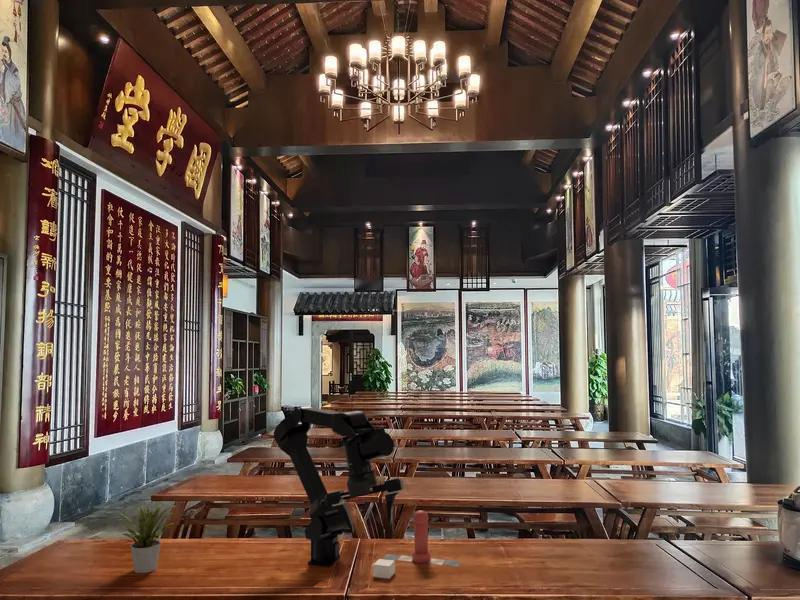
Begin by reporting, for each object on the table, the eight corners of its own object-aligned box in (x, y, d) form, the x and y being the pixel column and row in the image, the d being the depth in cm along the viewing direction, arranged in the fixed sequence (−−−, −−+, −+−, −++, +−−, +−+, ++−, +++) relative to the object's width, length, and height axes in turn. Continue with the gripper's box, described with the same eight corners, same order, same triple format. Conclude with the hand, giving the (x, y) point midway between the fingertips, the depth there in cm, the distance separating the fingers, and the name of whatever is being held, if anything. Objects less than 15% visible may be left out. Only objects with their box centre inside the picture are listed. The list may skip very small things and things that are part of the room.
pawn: (409, 562, 156) (409, 512, 156) (415, 556, 160) (414, 507, 161) (427, 564, 154) (426, 513, 155) (432, 557, 158) (431, 508, 159)
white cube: (373, 581, 146) (373, 564, 146) (379, 575, 150) (379, 558, 150) (389, 583, 145) (389, 566, 145) (395, 577, 149) (395, 560, 149)
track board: (378, 565, 156) (378, 561, 156) (389, 555, 164) (389, 551, 164) (456, 574, 150) (456, 569, 150) (463, 563, 157) (463, 558, 158)
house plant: (192, 564, 159) (193, 498, 160) (150, 583, 146) (151, 512, 147) (151, 556, 165) (152, 493, 166) (107, 574, 152) (108, 506, 153)
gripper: (314, 472, 146) (326, 541, 142) (392, 455, 145) (406, 524, 141) (325, 470, 157) (336, 534, 153) (397, 454, 156) (410, 519, 152)
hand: (371, 528), depth 149 cm, fingers open, 9 cm apart
